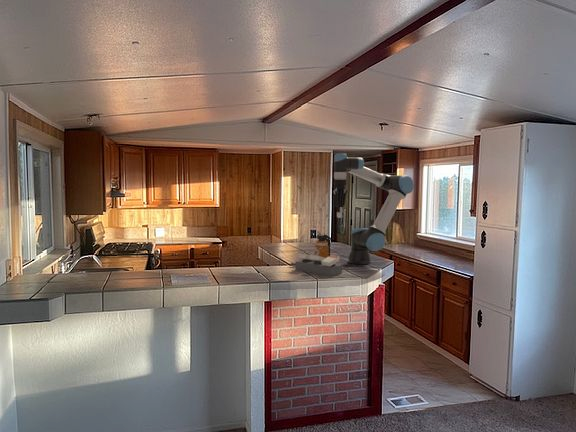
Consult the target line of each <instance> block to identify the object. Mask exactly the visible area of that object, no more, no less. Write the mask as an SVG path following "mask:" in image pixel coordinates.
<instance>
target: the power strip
mask: <svg viewBox="0 0 576 432" xmlns="http://www.w3.org/2000/svg"><path fill="white" fill-rule="evenodd" d="M290 266H294V267H295V271H300V270H302V271H301V272H306V271H308V272H307V273H311V272H313V274H316V273H318V274H317V275H322V274H323V276H328V277H333V276H337V275H340V274H342V273H343V264H339V263H335V264H333V265H332V266H324V265H322V262H320V261H315V260H310V259H304V258H301V260H296V261H295V263H294V262H290Z"/></svg>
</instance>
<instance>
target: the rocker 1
mask: <svg viewBox="0 0 576 432" xmlns="http://www.w3.org/2000/svg"><path fill="white" fill-rule="evenodd" d="M310 255H311V254H305V253H300V252H299V253H298V254H297V258H299V259H309V258H310ZM309 260H312V259H309Z"/></svg>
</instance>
